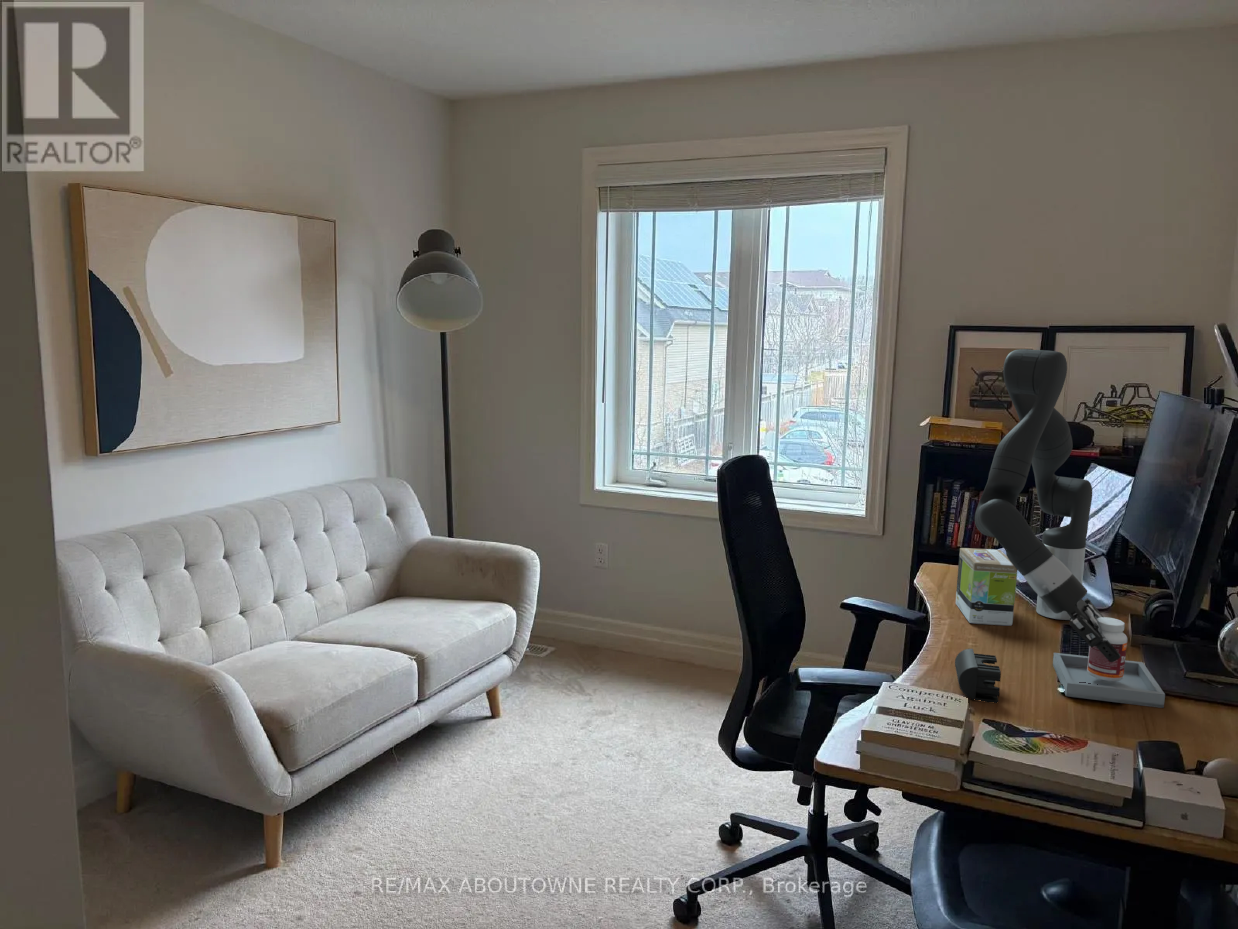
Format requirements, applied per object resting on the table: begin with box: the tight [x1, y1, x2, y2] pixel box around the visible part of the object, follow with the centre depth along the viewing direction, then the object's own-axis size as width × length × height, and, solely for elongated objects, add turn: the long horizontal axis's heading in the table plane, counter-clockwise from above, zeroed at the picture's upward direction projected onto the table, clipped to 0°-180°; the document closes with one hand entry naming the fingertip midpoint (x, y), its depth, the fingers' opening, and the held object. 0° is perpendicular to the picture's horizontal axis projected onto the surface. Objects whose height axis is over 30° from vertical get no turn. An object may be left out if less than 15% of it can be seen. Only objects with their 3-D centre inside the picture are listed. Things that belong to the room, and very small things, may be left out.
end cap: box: [954, 648, 1002, 704], centre depth 164 cm, size 10×7×7 cm
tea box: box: [955, 547, 1018, 627], centre depth 207 cm, size 15×10×15 cm
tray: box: [1052, 652, 1166, 709], centre depth 168 cm, size 16×16×3 cm
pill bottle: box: [1087, 616, 1128, 681], centre depth 167 cm, size 6×6×11 cm
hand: (1117, 653), depth 166 cm, fingers closed on pill bottle, 6 cm apart
